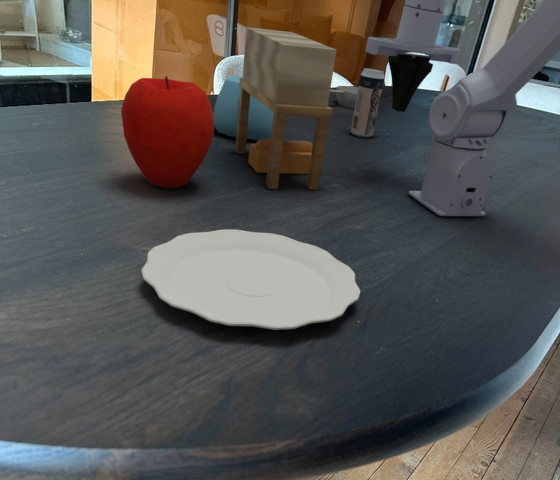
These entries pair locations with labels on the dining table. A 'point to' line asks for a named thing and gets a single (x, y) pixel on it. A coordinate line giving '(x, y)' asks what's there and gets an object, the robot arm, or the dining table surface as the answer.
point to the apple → (167, 129)
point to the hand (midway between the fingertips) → (398, 109)
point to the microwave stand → (286, 91)
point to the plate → (250, 279)
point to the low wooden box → (292, 157)
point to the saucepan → (346, 95)
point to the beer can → (367, 102)
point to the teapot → (228, 112)
